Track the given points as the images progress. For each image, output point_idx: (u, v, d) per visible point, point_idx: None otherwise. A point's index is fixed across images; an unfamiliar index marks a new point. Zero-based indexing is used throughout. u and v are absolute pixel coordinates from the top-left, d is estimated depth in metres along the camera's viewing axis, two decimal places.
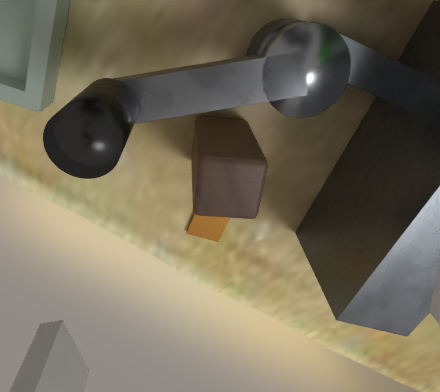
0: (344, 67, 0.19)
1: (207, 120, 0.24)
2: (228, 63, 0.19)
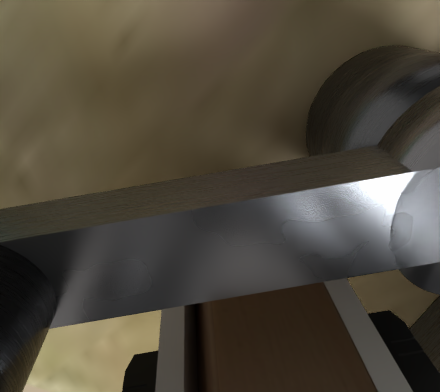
0: None
1: None
2: (303, 188, 0.07)
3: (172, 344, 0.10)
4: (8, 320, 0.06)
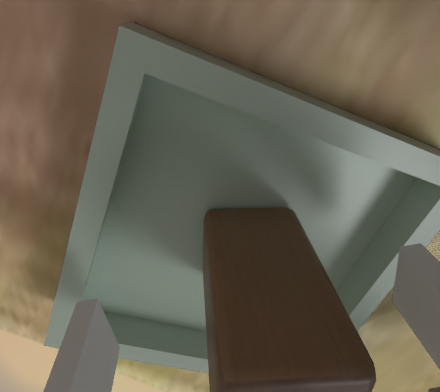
0: None
1: (225, 224, 0.13)
2: None
3: None
4: None
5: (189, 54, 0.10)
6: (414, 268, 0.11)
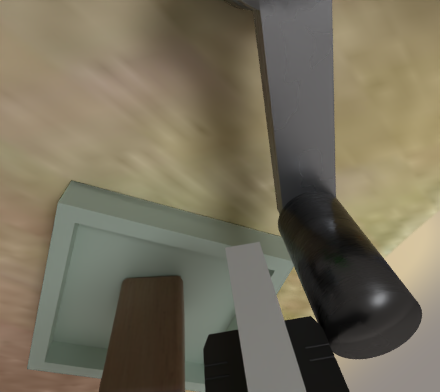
0: None
1: None
2: (267, 73, 0.12)
3: (250, 323, 0.10)
4: (307, 211, 0.14)
5: None
6: (244, 264, 0.13)
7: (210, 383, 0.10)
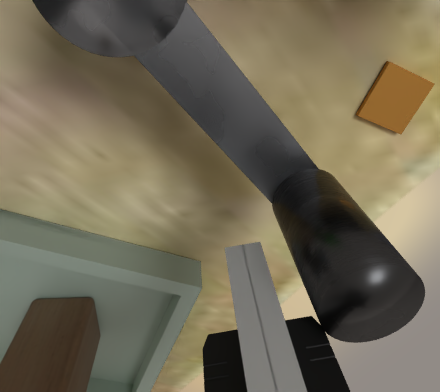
0: None
1: None
2: (177, 100, 0.12)
3: (250, 323, 0.10)
4: (286, 200, 0.13)
5: None
6: (245, 264, 0.13)
7: (209, 383, 0.10)
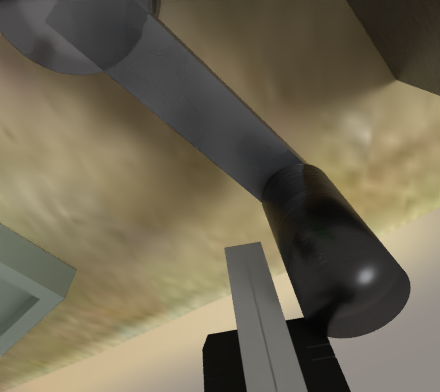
0: None
1: None
2: (152, 109, 0.13)
3: (250, 323, 0.10)
4: (272, 199, 0.13)
5: None
6: (246, 264, 0.13)
7: (209, 383, 0.10)
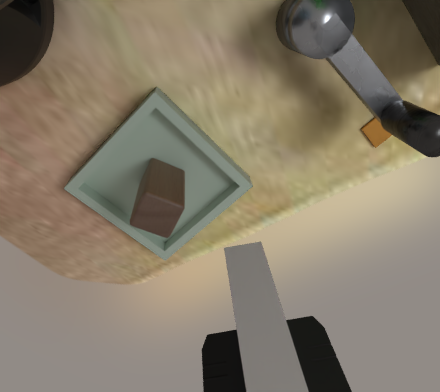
0: (306, 3, 0.26)
1: (139, 186, 0.36)
2: (342, 74, 0.29)
3: (249, 323, 0.10)
4: (391, 114, 0.30)
5: (76, 175, 0.35)
6: (246, 263, 0.13)
7: (209, 383, 0.10)
